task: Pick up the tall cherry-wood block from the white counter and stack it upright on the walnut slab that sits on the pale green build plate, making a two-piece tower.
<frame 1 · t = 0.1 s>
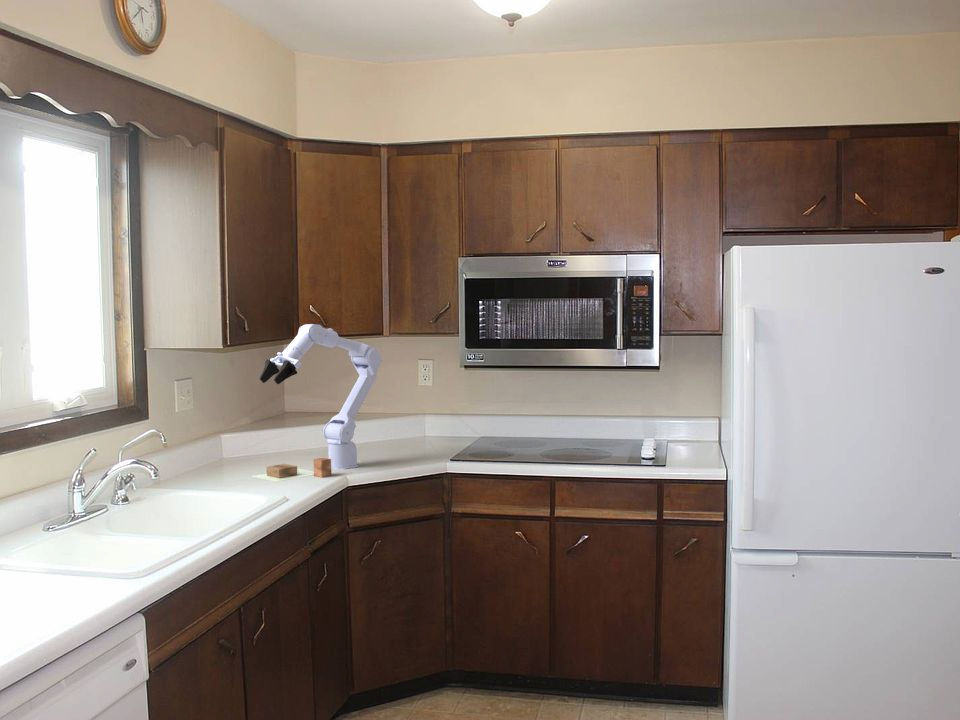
hand: (268, 381, 263), 32 cm above the worktop, tool tilted 50°, fingers open, 7 cm apart
cherry block: (322, 477, 269), on the worktop
build plate: (287, 475, 272), on the worktop
walnut slab: (282, 475, 270), resting on build plate
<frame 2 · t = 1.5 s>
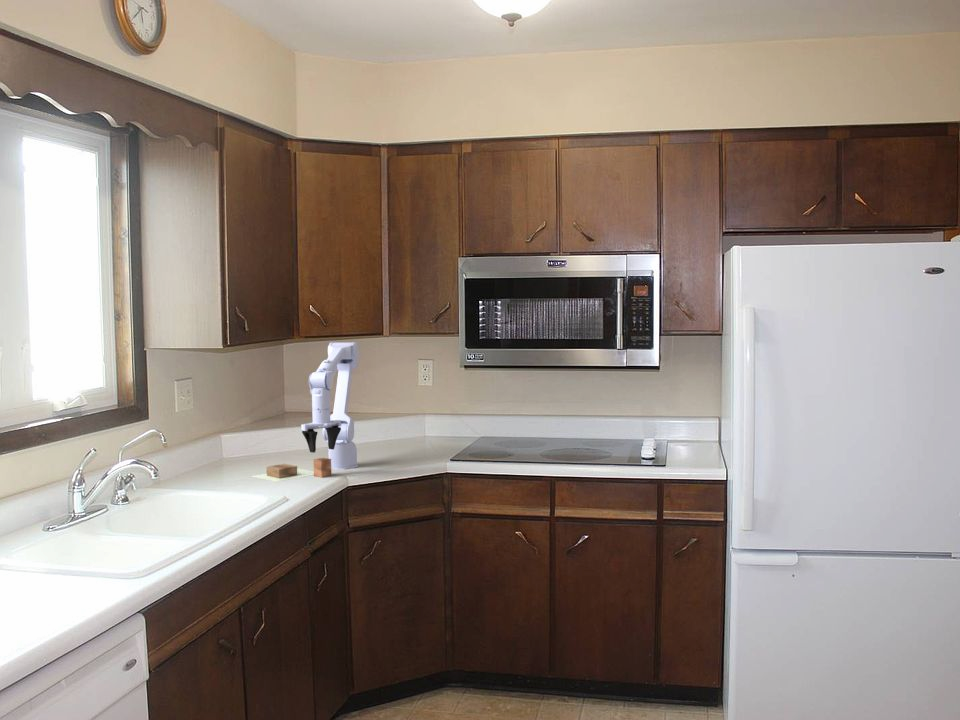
hand: (322, 450, 268), 9 cm above the worktop, tool pointing down, fingers open, 7 cm apart
nothing on the worktop moved.
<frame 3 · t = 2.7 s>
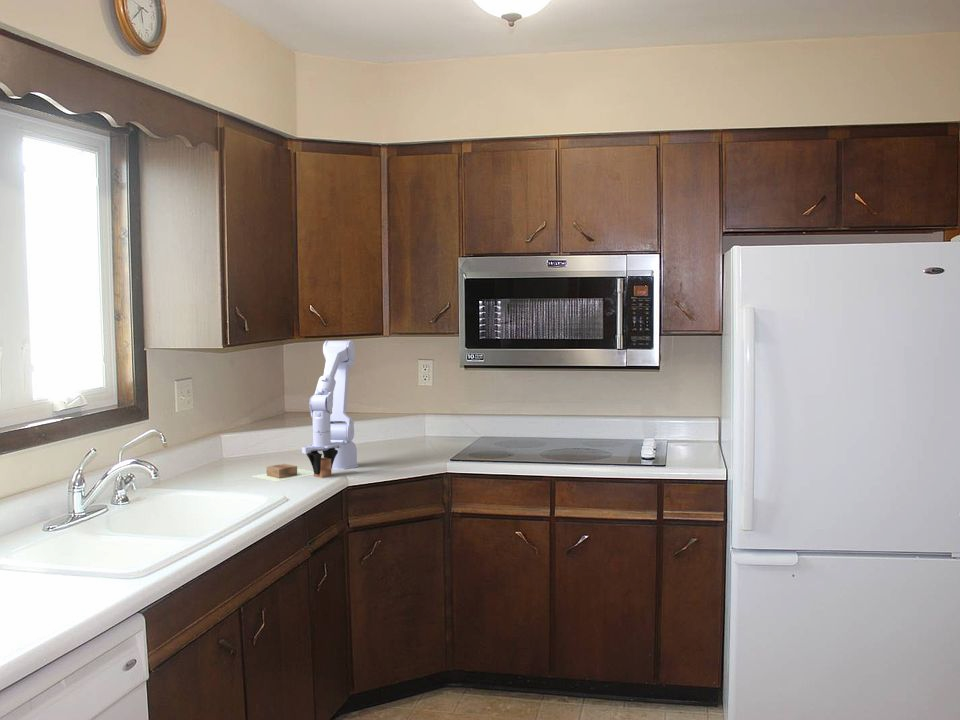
hand: (322, 472, 269), 1 cm above the worktop, tool pointing down, fingers closed on cherry block, 4 cm apart
cherry block: (322, 477, 269), on the worktop, touching gripper
everything else where it was.
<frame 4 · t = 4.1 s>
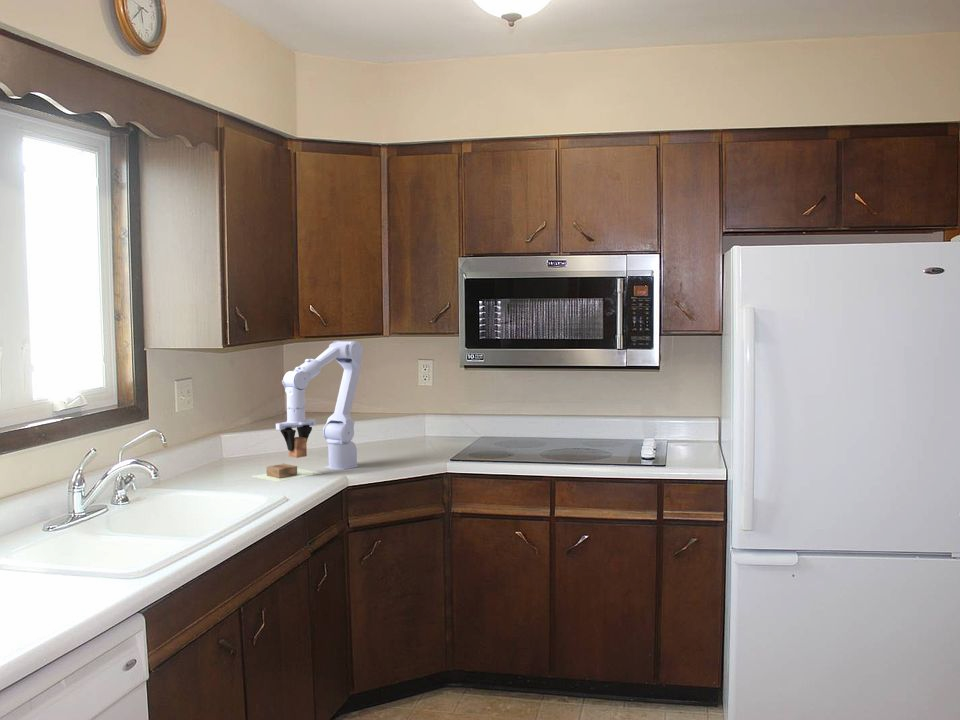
hand: (296, 449, 269), 9 cm above the worktop, tool pointing down, fingers closed on cherry block, 4 cm apart
cherry block: (297, 456, 269), point 7 cm above the worktop, touching gripper
everything else where it was.
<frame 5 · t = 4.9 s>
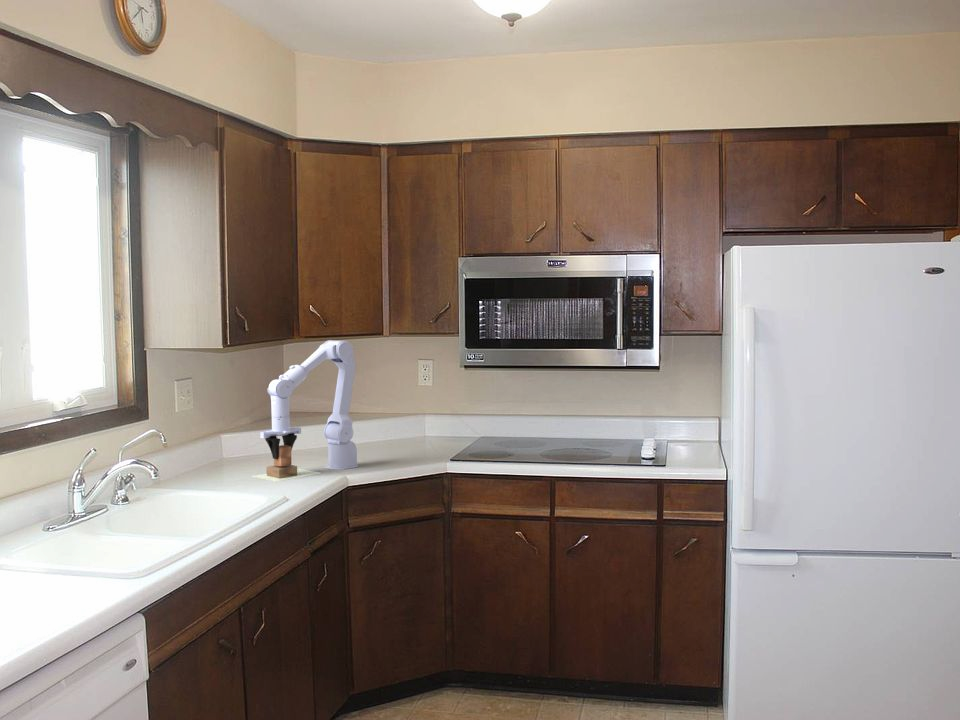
hand: (281, 457, 270), 6 cm above the worktop, tool pointing down, fingers closed on cherry block, 4 cm apart
cherry block: (282, 464, 270), point 4 cm above the worktop, touching gripper
everything else where it was.
when the fingers open (6 cm above the worktop, at t = 5.3 s): cherry block stays where it is, resting on walnut slab.
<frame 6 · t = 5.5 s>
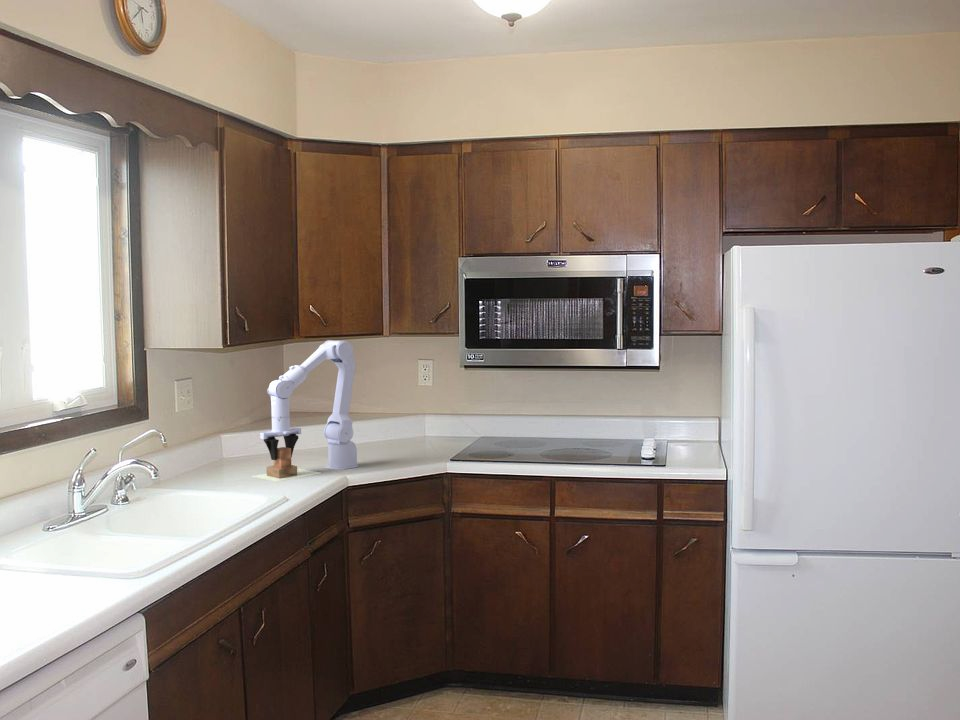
hand: (281, 458, 270), 6 cm above the worktop, tool pointing down, fingers open, 5 cm apart
cherry block: (282, 466, 270), point 3 cm above the worktop, touching walnut slab
walnut slab: (282, 475, 270), resting on build plate, touching cherry block
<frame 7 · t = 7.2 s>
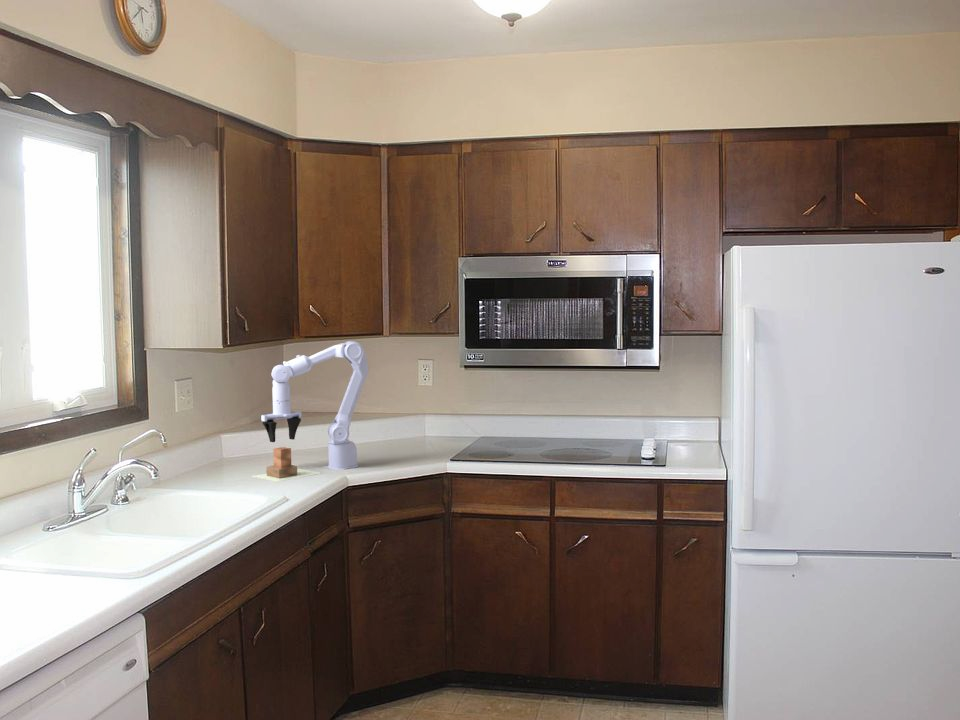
hand: (282, 440, 279), 10 cm above the worktop, tool pointing down, fingers open, 7 cm apart
nothing on the worktop moved.
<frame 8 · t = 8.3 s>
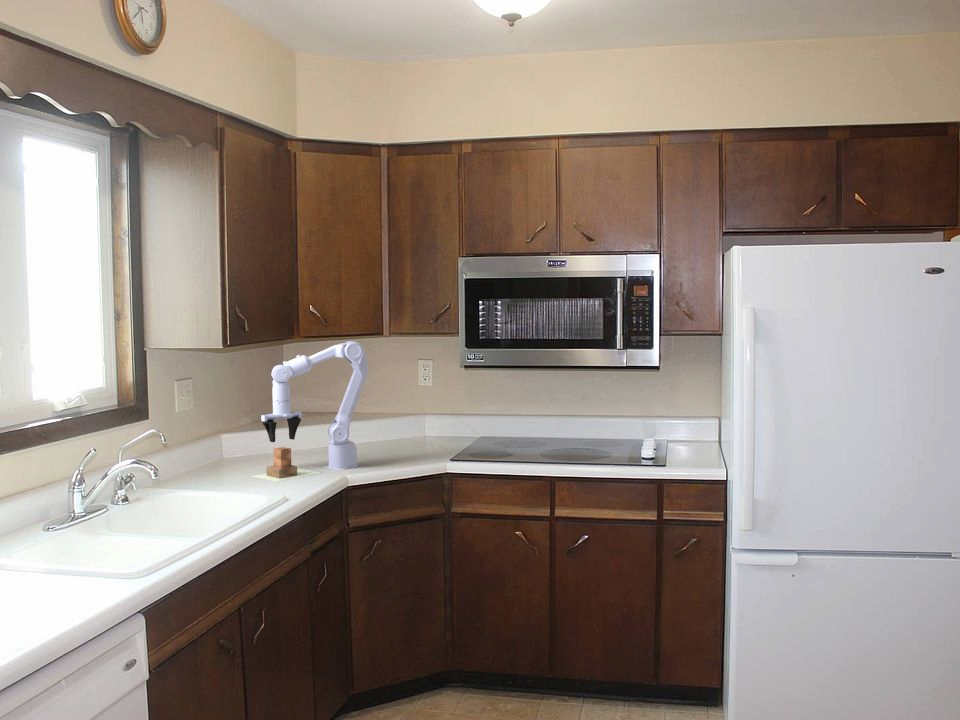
hand: (282, 440, 279), 10 cm above the worktop, tool pointing down, fingers open, 7 cm apart
nothing on the worktop moved.
at the end: cherry block 0.5 cm off-centre on the walnut slab, point 3.0 cm above the walnut slab's base; cherry block tilted 0°; cherry block touching walnut slab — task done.
